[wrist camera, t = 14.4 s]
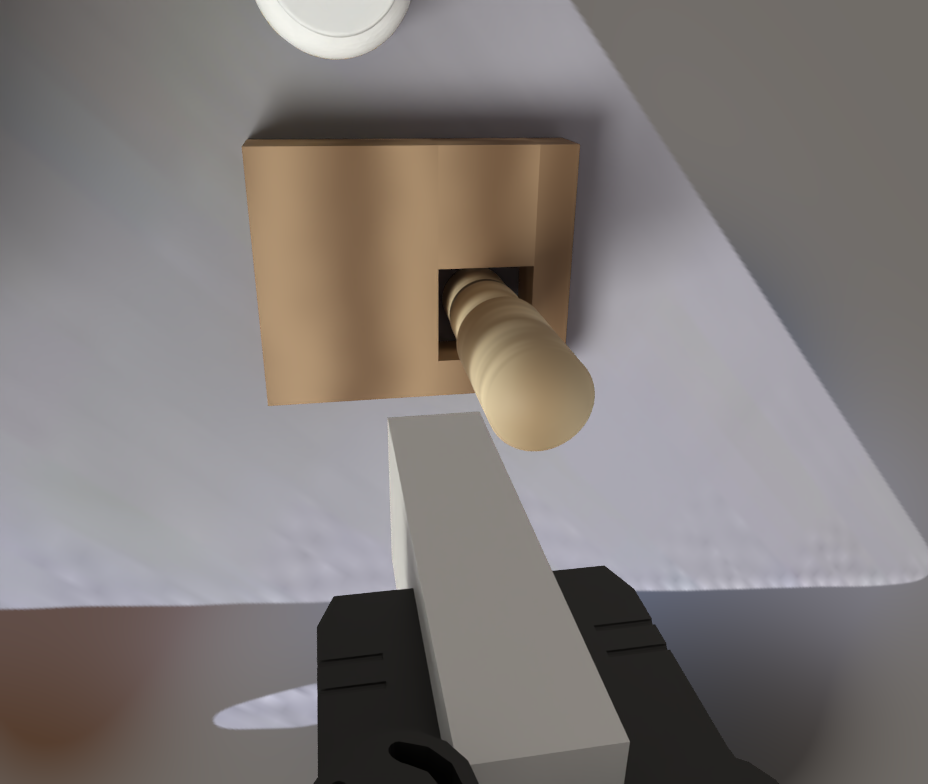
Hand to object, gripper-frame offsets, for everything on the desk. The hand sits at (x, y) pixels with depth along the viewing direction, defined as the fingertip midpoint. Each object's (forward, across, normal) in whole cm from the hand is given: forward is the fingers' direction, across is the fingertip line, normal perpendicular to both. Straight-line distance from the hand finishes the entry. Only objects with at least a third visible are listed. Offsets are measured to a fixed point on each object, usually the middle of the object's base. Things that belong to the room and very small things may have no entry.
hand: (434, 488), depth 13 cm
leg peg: (+29, +6, -6) cm, 31 cm away
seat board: (+29, +3, -4) cm, 30 cm away
